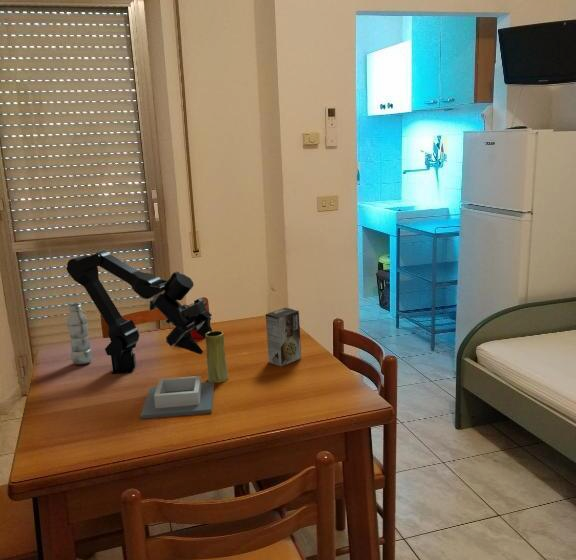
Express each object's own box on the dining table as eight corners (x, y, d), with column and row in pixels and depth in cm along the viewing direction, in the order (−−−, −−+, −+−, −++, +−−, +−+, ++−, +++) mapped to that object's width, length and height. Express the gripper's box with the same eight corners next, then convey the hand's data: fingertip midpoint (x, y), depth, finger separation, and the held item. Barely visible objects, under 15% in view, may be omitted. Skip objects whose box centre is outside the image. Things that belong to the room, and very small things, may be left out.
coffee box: (287, 354, 183) (285, 307, 179) (302, 358, 178) (299, 310, 175) (267, 362, 176) (264, 313, 173) (281, 367, 172) (279, 317, 168)
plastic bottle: (94, 364, 182) (86, 305, 177) (72, 368, 179) (63, 308, 175) (93, 358, 188) (85, 301, 183) (71, 361, 185) (63, 304, 181)
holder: (140, 418, 142) (139, 402, 141) (151, 390, 159) (149, 375, 158) (211, 412, 143) (210, 396, 142) (214, 384, 161) (212, 370, 160)
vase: (231, 375, 167) (227, 330, 164) (223, 384, 161) (219, 337, 158) (212, 374, 169) (208, 329, 165) (204, 382, 163) (200, 336, 160)
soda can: (210, 332, 210) (207, 301, 207) (208, 338, 202) (206, 306, 200) (190, 333, 209) (187, 302, 207) (187, 339, 202) (185, 308, 199)
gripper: (171, 300, 153) (210, 341, 152) (203, 284, 170) (238, 321, 169) (149, 326, 157) (187, 366, 156) (183, 308, 174) (217, 344, 173)
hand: (209, 347), depth 163 cm, fingers open, 9 cm apart
